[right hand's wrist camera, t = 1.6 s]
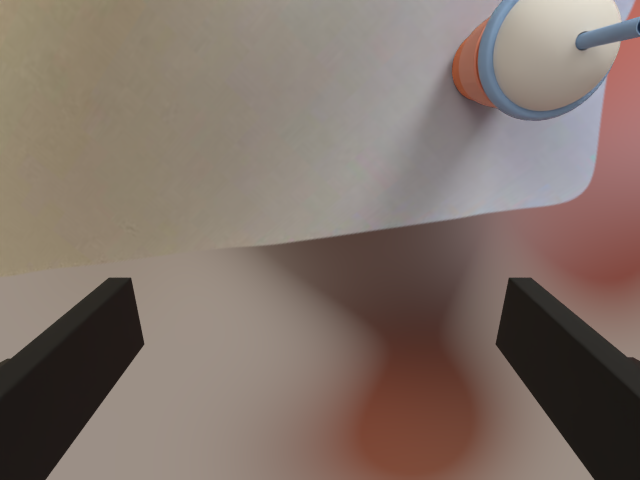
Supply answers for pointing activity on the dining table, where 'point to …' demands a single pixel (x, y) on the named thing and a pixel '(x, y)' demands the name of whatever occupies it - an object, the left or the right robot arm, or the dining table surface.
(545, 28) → the cup with straw
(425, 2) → the dining table surface
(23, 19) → the dining table surface
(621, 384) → the right robot arm
